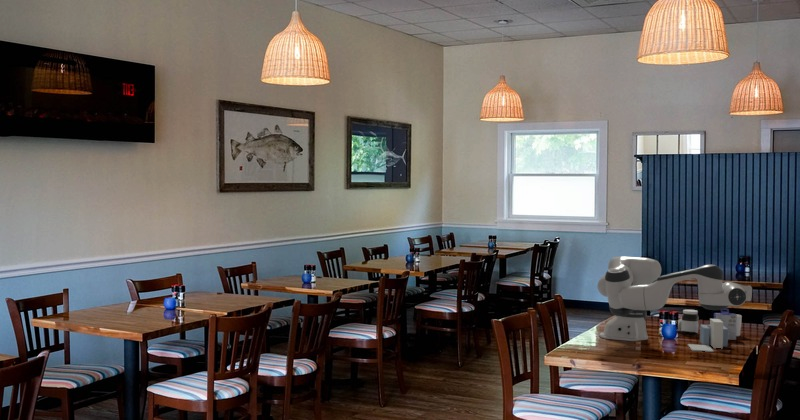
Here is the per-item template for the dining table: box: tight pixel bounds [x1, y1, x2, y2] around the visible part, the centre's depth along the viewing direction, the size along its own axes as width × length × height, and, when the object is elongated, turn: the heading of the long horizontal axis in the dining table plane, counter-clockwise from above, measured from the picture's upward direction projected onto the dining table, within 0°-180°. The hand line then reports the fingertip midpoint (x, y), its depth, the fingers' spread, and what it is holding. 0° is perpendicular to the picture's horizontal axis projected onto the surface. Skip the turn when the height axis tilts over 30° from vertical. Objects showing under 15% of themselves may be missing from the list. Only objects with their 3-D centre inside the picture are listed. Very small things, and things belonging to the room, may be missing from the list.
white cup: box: [735, 313, 743, 337], centre depth 394 cm, size 8×8×10 cm
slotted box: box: [699, 324, 729, 348], centre depth 369 cm, size 10×10×8 cm
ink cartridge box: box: [713, 308, 738, 341], centre depth 383 cm, size 10×6×14 cm, turn 78°
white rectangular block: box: [709, 318, 724, 350], centre depth 363 cm, size 4×10×12 cm, turn 168°
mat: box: [687, 343, 715, 353], centre depth 357 cm, size 9×13×1 cm
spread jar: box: [677, 309, 700, 336], centre depth 397 cm, size 12×11×12 cm
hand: (723, 289), depth 347 cm, fingers open, 8 cm apart
